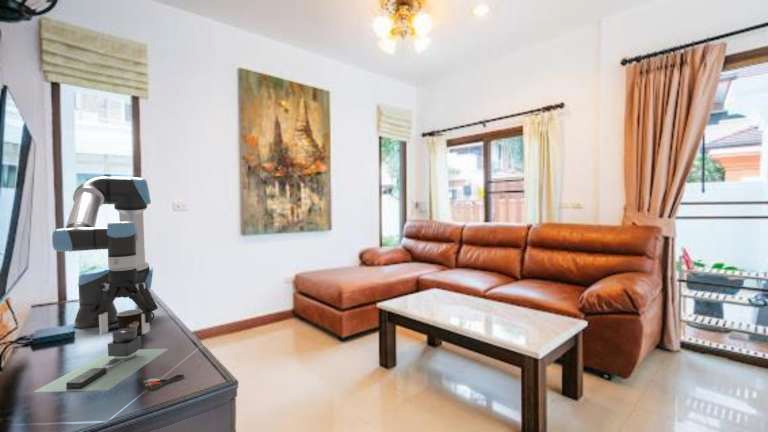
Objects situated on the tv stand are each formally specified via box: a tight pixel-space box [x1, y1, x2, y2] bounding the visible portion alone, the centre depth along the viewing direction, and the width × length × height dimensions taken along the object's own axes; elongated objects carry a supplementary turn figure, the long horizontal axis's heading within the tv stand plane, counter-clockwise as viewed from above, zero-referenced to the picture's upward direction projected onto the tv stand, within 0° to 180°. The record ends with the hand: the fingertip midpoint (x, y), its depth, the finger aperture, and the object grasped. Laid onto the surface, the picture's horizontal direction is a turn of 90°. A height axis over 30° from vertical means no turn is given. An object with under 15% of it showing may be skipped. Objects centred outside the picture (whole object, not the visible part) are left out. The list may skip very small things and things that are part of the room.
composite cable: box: [143, 374, 185, 391], centre depth 99 cm, size 10×5×2 cm, turn 128°
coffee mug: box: [116, 308, 155, 337], centre depth 136 cm, size 12×9×10 cm
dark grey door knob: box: [107, 328, 143, 356], centre depth 116 cm, size 6×6×7 cm
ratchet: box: [66, 351, 137, 389], centre depth 108 cm, size 23×6×5 cm, turn 2°
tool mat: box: [33, 348, 169, 393], centre depth 109 cm, size 28×20×1 cm
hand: (124, 332), depth 116 cm, fingers open, 13 cm apart
